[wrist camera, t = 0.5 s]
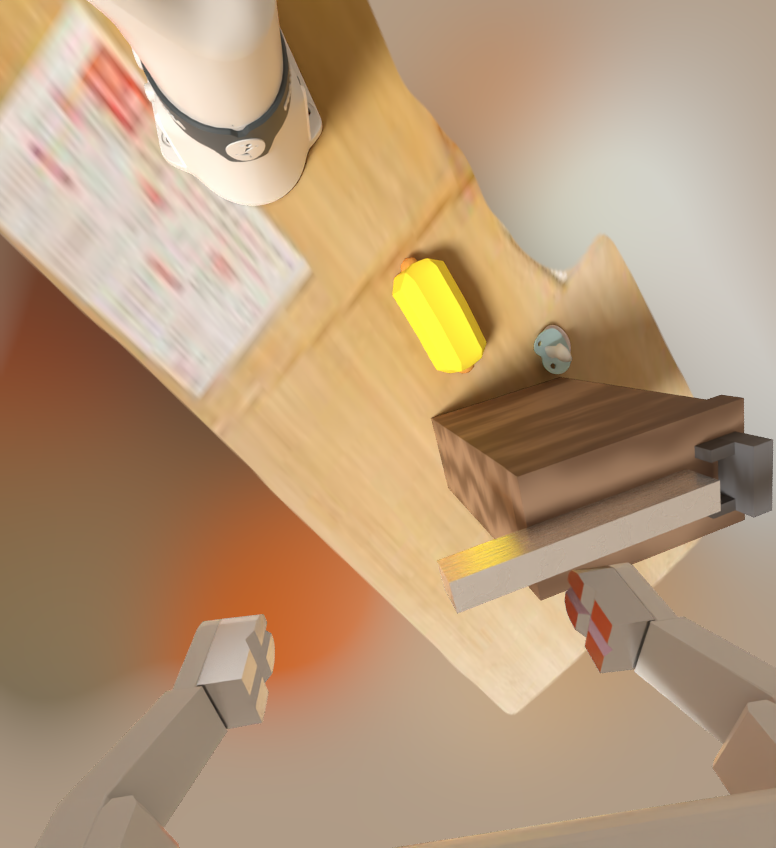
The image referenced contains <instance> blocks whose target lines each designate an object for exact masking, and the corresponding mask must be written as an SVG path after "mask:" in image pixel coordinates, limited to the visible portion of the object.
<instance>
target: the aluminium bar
mask: <svg viewBox="0 0 776 848" xmlns="http://www.w3.org/2000/svg"><path fill="white" fill-rule="evenodd" d="M719 511H721V503H720V480H717V479H714V478H711V477H708V476H705V475H702V474H700V473H697V472H694V471H691V470H688V469H685V470H682V471H679V472H676V473H674V474H671V475H668V476H666V477H663V478H660V479H657V480H655V481H652V482H649V483H647V484H644V485H641V486H638V487H636V488H633V489H630V490H628V491H625V492H622V493H619V494H617V495H614V496H611V497H609V498H606V499H603V500H600V501H598V502H595V503H592V504H590V505H587V506H584V507H581V508H579V509H576V510H573V511H570V512H568V513H565V514H562V515H560V516H557V517H554V518H551V519H549V520H546V521H543V522H541V523H538V524H535V525H532V526H530V527H527V528H524V529H522V530H519V531H516V532H513V533H511V534H508V535H505V536H503V537H500V538H497V539H494V540H492V541H489V542H486V543H484V544H481V545H478V546H475V547H473V548H470V549H467V550H465V551H462V552H459V553H456V554H454V555H451V556H448V557H446V558H443V559H440V560H437V563H438V566H439V570H440V574H441V577H442V581H443V585H444V588H445V591H446V593H447V595H448V596H449V598H450V600H451V602H452V604H453V606H454V608H455V610H456V612H457V613H460V612H462V611H465V610H468V609H470V608H473V607H475V606H478V605H480V604H483V603H486V602H488V601H491V600H493V599H496V598H498V597H501V596H504V595H506V594H509V593H511V592H514V591H516V590H519V589H522V588H524V587H527V586H529V585H532V584H534V583H537V582H540V581H542V580H545V579H547V578H550V577H552V576H555V575H557V574H560V573H563V572H565V571H568V570H570V569H573V568H575V567H578V566H581V565H583V564H586V563H588V562H591V561H593V560H596V559H599V558H601V557H604V556H606V555H609V554H611V553H614V552H617V551H619V550H622V549H624V548H627V547H629V546H632V545H635V544H637V543H640V542H642V541H645V540H647V539H650V538H653V537H655V536H658V535H660V534H663V533H665V532H668V531H671V530H673V529H676V528H678V527H681V526H683V525H686V524H689V523H691V522H694V521H696V520H699V519H701V518H704V517H707V516H709V515H712V514H714V513H717V512H719Z"/></svg>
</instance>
